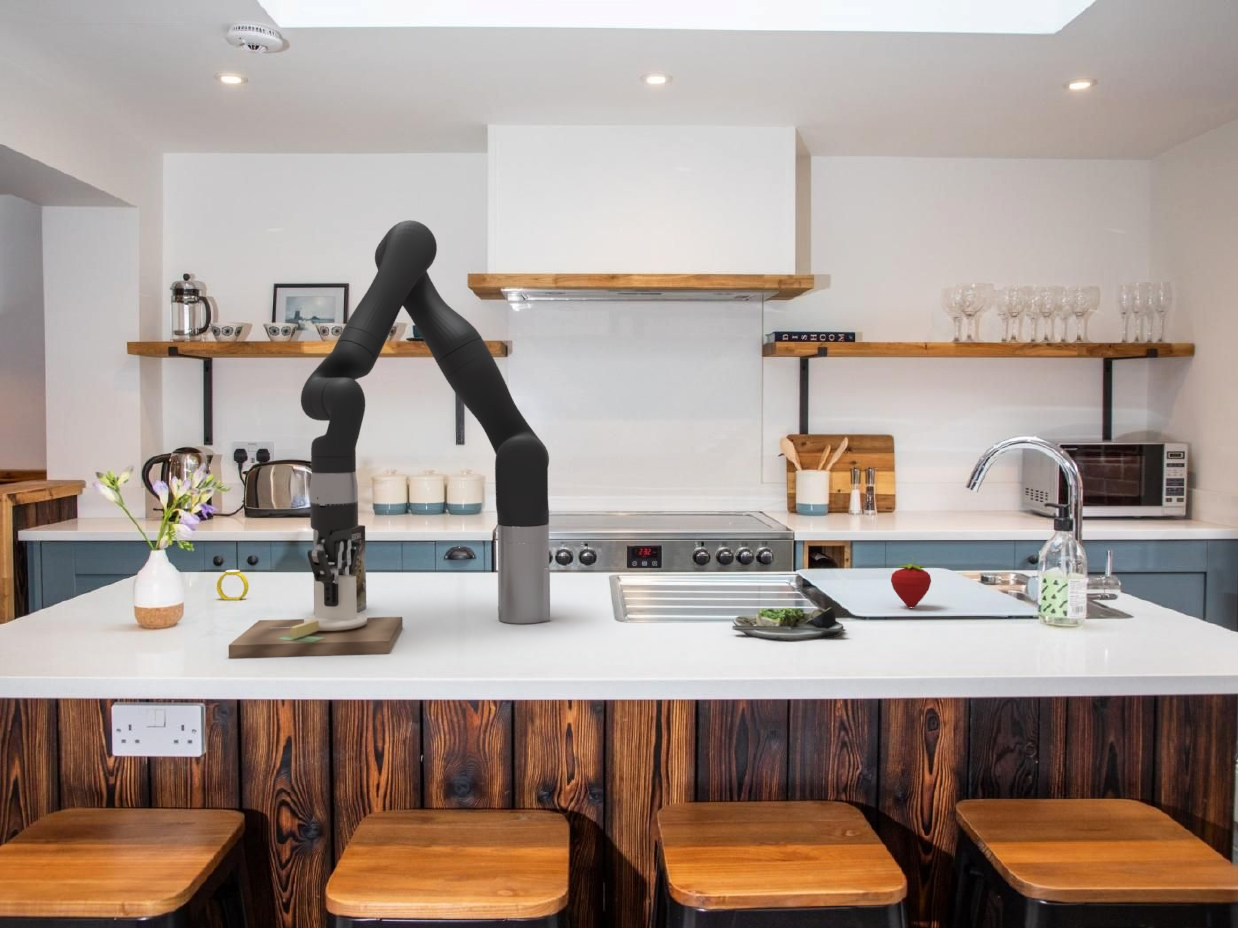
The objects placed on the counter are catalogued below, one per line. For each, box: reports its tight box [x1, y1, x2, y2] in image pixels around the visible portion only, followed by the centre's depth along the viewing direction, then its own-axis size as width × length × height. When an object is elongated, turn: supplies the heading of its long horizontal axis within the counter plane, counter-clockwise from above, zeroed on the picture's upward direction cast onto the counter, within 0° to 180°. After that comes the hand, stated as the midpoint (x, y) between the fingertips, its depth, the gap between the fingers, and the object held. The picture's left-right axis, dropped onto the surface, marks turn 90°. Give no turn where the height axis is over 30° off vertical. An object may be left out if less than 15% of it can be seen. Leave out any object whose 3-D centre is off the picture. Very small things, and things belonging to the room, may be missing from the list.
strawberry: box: [890, 554, 932, 608], centre depth 184 cm, size 6×8×10 cm
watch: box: [216, 569, 249, 601], centre depth 196 cm, size 6×3×6 cm, turn 87°
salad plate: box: [731, 606, 846, 641], centre depth 166 cm, size 19×18×5 cm
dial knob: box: [290, 575, 368, 638], centre depth 158 cm, size 16×10×8 cm, turn 159°
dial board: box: [228, 616, 404, 659], centre depth 159 cm, size 24×18×2 cm
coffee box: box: [312, 524, 367, 615], centre depth 182 cm, size 9×6×16 cm
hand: (335, 603), depth 160 cm, fingers closed on dial knob, 2 cm apart
